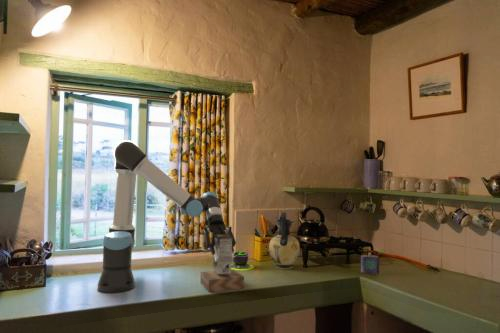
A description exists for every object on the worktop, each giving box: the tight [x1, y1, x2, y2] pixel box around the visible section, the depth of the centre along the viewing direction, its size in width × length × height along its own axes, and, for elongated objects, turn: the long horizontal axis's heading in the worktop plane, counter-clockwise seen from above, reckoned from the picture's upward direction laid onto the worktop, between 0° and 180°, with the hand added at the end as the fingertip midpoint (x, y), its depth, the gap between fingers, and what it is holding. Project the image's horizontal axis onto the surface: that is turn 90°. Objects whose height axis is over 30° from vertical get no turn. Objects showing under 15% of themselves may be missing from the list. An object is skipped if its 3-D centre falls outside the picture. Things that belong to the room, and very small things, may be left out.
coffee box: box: [212, 233, 233, 274], centre depth 160 cm, size 9×6×16 cm
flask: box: [360, 252, 380, 275], centre depth 186 cm, size 9×3×11 cm, turn 79°
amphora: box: [268, 211, 301, 270], centre depth 196 cm, size 18×17×30 cm
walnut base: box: [200, 269, 245, 293], centre depth 159 cm, size 16×14×5 cm
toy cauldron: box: [231, 249, 255, 272], centre depth 194 cm, size 15×15×11 cm
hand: (224, 259), depth 156 cm, fingers closed on coffee box, 6 cm apart
